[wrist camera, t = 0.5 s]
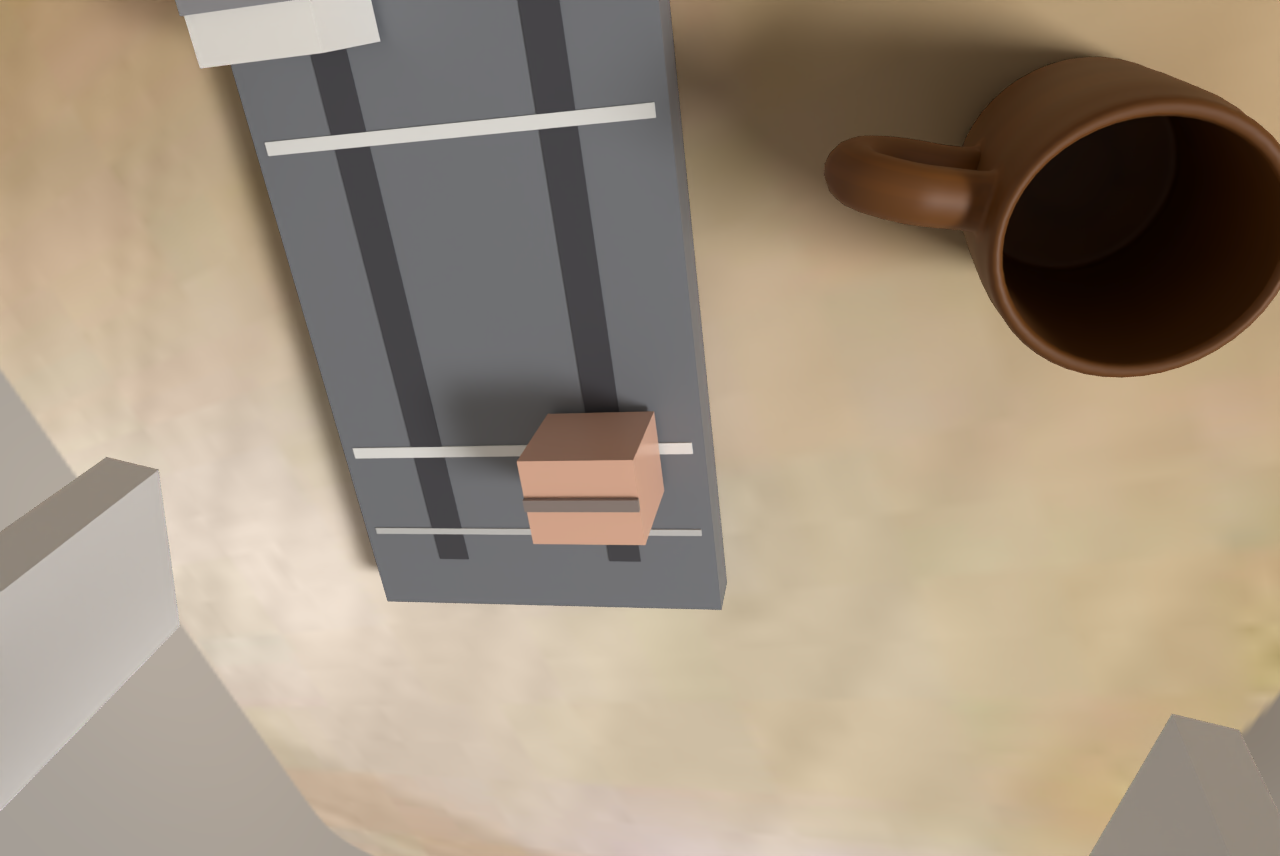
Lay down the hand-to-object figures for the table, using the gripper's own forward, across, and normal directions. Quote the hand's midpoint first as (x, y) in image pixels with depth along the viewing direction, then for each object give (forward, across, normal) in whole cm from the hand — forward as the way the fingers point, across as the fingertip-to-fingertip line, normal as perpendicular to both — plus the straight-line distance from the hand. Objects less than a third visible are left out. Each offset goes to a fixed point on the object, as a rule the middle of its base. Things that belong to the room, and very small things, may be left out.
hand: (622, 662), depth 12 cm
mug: (+26, +8, +3) cm, 27 cm away
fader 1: (+23, -17, +4) cm, 29 cm away
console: (+25, -10, -4) cm, 28 cm away
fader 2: (+23, -4, -11) cm, 26 cm away
